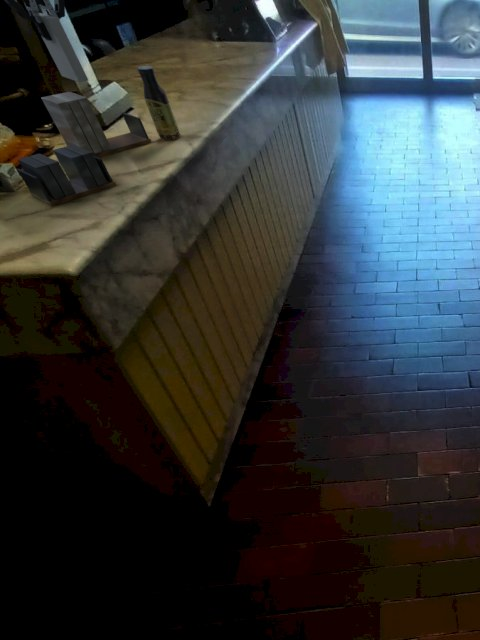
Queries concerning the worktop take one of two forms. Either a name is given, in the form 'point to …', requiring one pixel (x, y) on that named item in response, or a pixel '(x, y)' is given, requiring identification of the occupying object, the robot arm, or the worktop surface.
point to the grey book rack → (53, 183)
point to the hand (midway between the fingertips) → (55, 38)
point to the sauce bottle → (158, 105)
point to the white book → (62, 50)
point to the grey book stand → (90, 125)
